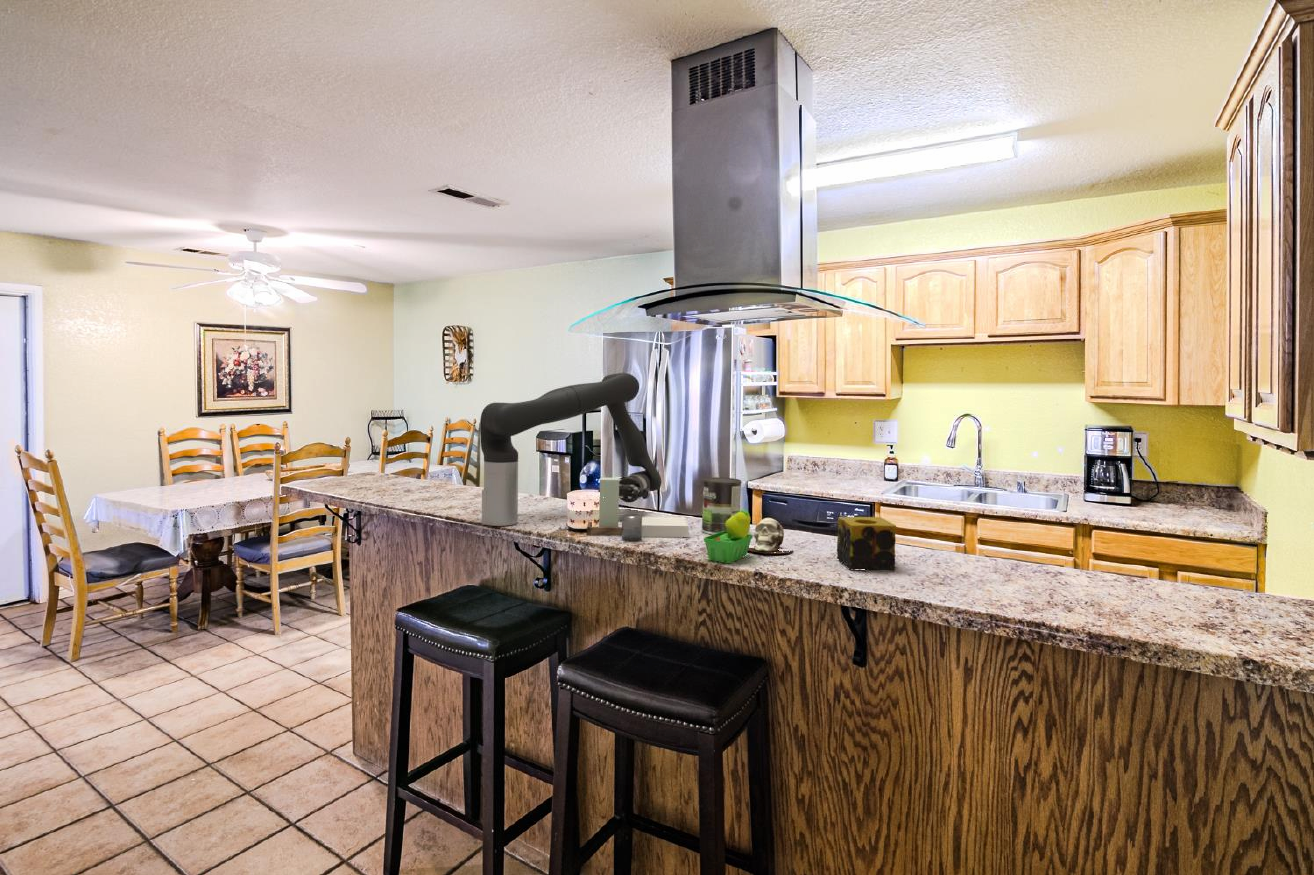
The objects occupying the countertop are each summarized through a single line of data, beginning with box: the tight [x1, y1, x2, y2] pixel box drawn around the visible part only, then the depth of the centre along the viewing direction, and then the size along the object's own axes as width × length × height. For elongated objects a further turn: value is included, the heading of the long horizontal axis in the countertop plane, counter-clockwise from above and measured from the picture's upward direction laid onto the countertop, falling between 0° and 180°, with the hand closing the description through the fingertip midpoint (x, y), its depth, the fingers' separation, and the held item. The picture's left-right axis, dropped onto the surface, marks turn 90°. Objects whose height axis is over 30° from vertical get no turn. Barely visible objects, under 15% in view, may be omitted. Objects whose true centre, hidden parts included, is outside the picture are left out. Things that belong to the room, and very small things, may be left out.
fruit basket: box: [703, 509, 754, 564], centre depth 154 cm, size 11×9×11 cm
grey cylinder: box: [621, 513, 643, 543], centre depth 172 cm, size 5×5×6 cm
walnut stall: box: [586, 521, 622, 537], centre depth 182 cm, size 11×10×2 cm
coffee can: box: [701, 477, 743, 535], centre depth 184 cm, size 10×10×14 cm
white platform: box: [642, 516, 690, 538], centre depth 182 cm, size 13×12×3 cm
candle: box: [836, 516, 897, 571], centre depth 151 cm, size 10×10×10 cm
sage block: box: [598, 477, 620, 527], centre depth 182 cm, size 5×5×14 cm
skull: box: [747, 517, 792, 555], centre depth 164 cm, size 12×10×10 cm
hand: (617, 495), depth 190 cm, fingers open, 8 cm apart
